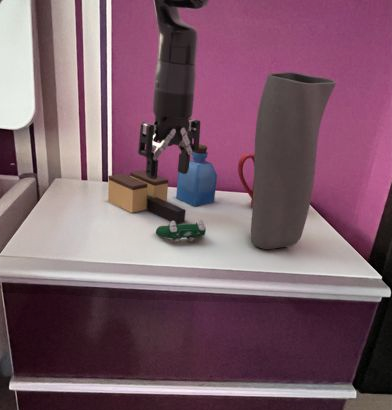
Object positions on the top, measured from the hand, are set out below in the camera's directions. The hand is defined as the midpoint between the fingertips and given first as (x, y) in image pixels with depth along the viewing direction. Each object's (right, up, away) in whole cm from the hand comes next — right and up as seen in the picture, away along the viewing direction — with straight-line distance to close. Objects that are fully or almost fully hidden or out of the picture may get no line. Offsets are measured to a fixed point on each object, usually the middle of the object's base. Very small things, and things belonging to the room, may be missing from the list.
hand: (167, 175), depth 113 cm
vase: (+20, -14, -2) cm, 25 cm away
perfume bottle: (+5, -1, +15) cm, 16 cm away
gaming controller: (+3, -14, -5) cm, 15 cm away
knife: (-4, -5, +7) cm, 10 cm away
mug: (+20, -3, +16) cm, 26 cm away
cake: (-7, -3, +10) cm, 12 cm away
